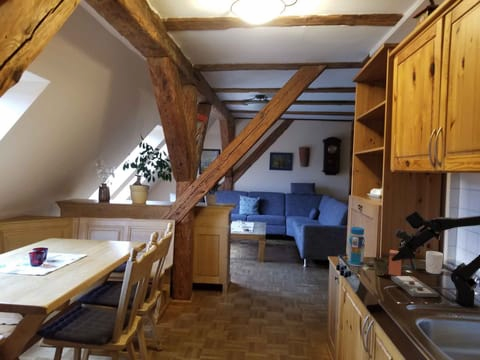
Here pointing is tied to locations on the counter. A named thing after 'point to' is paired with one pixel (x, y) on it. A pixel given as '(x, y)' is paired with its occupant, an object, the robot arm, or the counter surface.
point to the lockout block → (394, 264)
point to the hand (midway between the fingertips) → (392, 258)
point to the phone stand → (412, 268)
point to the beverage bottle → (356, 247)
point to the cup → (380, 266)
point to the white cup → (434, 262)
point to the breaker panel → (414, 286)
